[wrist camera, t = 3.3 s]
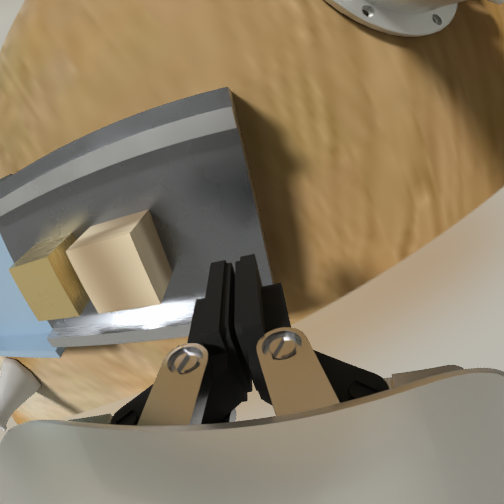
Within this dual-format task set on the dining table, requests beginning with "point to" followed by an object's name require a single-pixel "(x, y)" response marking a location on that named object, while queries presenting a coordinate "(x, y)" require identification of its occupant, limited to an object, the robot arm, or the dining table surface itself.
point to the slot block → (146, 207)
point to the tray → (20, 318)
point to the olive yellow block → (50, 280)
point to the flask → (14, 388)
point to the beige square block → (122, 263)
